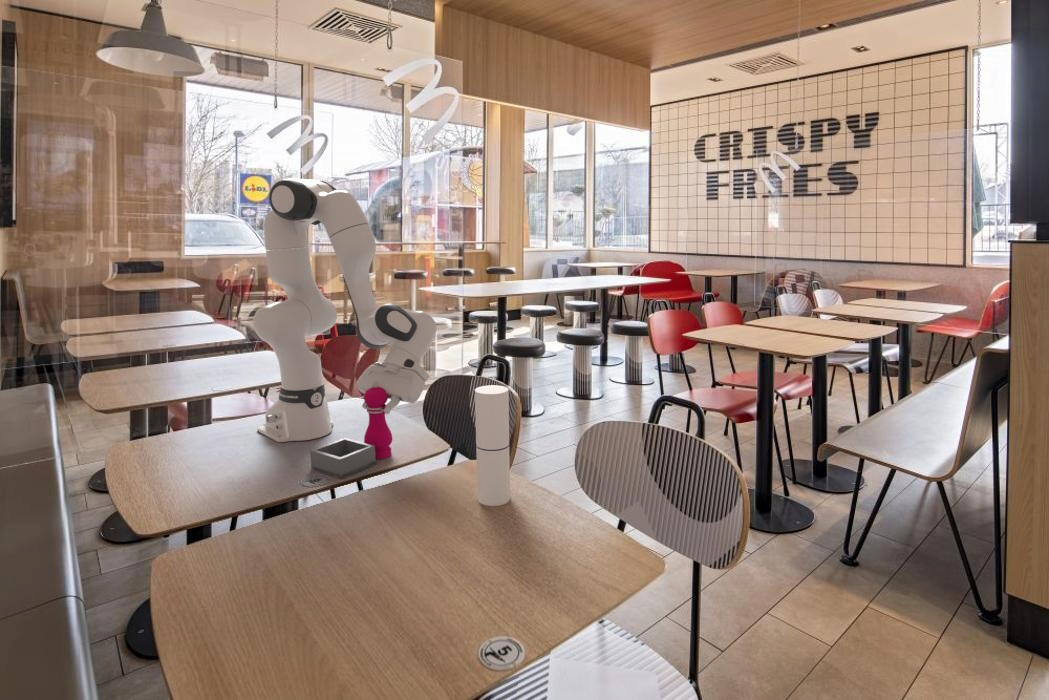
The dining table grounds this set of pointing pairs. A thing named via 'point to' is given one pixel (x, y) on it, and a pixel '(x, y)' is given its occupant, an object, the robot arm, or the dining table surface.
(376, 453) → the pepper mill
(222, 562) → the dining table surface
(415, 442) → the dining table surface
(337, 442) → the box
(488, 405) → the cylindrical container
